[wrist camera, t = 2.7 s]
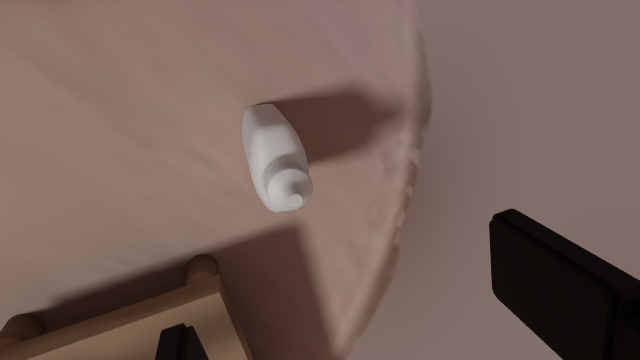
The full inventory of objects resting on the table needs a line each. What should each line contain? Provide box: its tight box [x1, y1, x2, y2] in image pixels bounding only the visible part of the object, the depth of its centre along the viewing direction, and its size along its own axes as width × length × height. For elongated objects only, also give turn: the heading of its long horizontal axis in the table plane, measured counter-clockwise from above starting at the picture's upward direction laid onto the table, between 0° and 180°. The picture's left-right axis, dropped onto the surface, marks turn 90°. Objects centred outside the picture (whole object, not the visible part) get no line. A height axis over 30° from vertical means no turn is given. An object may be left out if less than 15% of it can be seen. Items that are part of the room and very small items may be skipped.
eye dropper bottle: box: [242, 104, 313, 213], centre depth 23 cm, size 4×6×12 cm
